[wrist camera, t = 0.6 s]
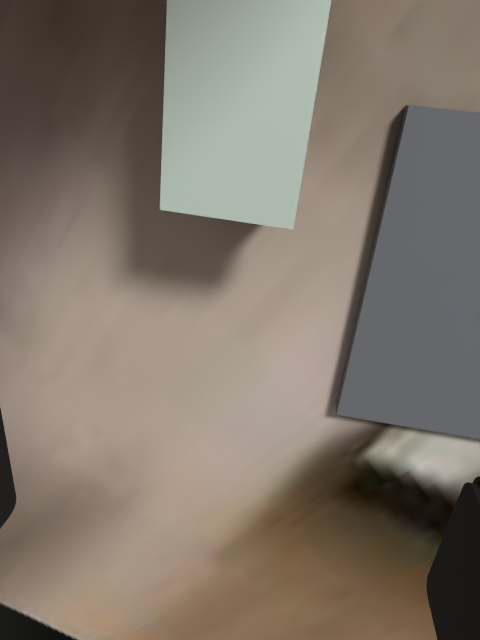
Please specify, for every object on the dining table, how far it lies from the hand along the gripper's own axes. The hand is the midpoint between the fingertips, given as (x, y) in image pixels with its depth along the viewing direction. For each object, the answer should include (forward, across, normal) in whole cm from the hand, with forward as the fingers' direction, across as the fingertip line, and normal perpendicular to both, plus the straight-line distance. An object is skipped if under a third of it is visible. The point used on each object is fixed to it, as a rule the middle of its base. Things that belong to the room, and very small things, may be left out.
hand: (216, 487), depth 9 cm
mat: (+24, -14, +3) cm, 28 cm away
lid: (+19, +3, -8) cm, 21 cm away
